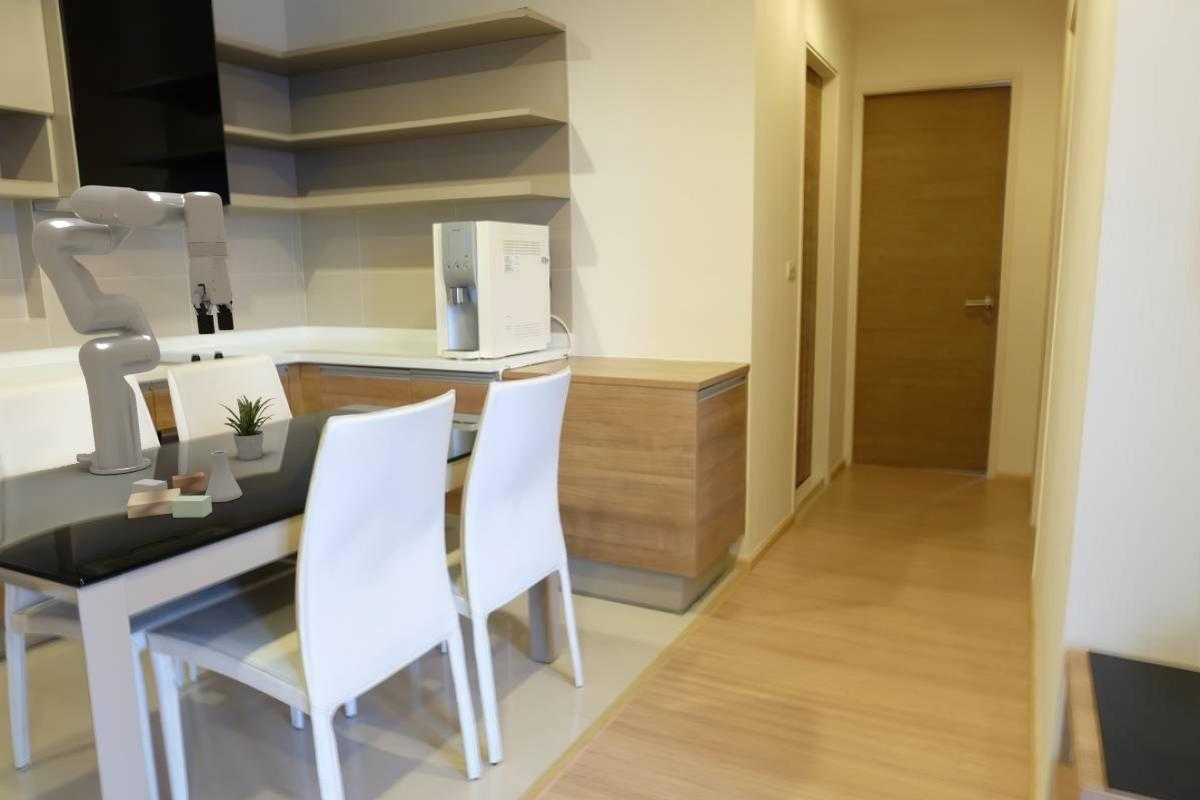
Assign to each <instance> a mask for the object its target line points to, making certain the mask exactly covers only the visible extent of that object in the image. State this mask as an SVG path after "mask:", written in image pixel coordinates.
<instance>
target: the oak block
mask: <svg viewBox="0 0 1200 800" xmlns="http://www.w3.org/2000/svg"><path fill="white" fill-rule="evenodd" d="M179 496H182V494H181V491H180V488H176V489H173V488H169V489H167V490H159V491H150V492H142V493H133V494H132V493H130V495H129V498H128V501H127V504H126V511H127V519H138V518H145V517H152V516H162V515H169V514H173V510H172V501H173V500H174V499H176V498H178V497H179Z"/></svg>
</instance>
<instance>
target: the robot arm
mask: <svg viewBox="0 0 1200 800" xmlns="http://www.w3.org/2000/svg"><path fill="white" fill-rule="evenodd" d="M69 206H70V209H71V211H72V213H74V214H75V216H76V217H77V218H75V217H71V218H70V217H54V218H47V219H44V220H42V221H40V222H38V223H37V224H36V225H35V226H34V228H33V230H32V234H31V247H32V252H33V256H34V257H35V260H36V262H37V263H38V266H39V267H40V269H42V272H44V274H45V275H46V277H47V278H48V280H49V281H50V283H51V285H52V287H53V288H54V290H55V293H56V296H57V297H58V300H59V302H60V304H61V307H62V309H63V312H64V313H65V315H66V318H67V320H68V321H69V324H70V326H71V328H72V329H73V331H75V332H76V333H77V334H80V335H81V336H98V335H110V334H117V335H110V336H104V337H96V338H93V339H90V340H88V341H86V342H85V343H83V344H82V345H81V346H80V348H79V351H78V362H79V367H80V369H81V371H82V374H83V377H84V380H85V385H86V388H87V395H88V402H89V403H88V404H89V409H90V418H91V424H92V425H91V426H92V432H93V434H92V435H93V441H94V451H92V452H90V453H76V461H77V463H78V462H79V464H86V463H90V464H91V465H90V466H89V472H90V473H91V474H95V475H117V474H126V473H133V472H135V471H136V472H137V471H140V470H144V469H146V468H148V467H149V466H151V459H150V458H148V457H145V456H144V457H143V449H142V441H141V433H140V432H141V431H140V424H139V423H140V422H139V412H138V404H137V403H138V402H137V398H136V397H137V396H136V393H135V390H134V388H133V387H132V386H131V385H130V383H129V382H128V381H127V380H126V378H125V377H126V376H130V375H136V374H142V373H147V372H151V371H153V370H155V369H156V368H157V367H158V366H159V365H160V363H161V349H160V347H159V344H158V341H157V339H156V336H155V333H153V329H152V328H151V325H150V323H149V321H148V319H147V317H146V314H145V311H144V310H143V308H142V306H141V305H140V303H139V302H138V301H137V300H136V299H135V298H134V297H132V296H131V295H129V294H127V293H126V294H125V293H117V292H116V293H115V292H114V293H104V292H102V290H101V288H100V287H99V285H98V283H97V281H96V279H95V277H94V275H93V274H92V272H91V271H90V269H88V268H87V267H86V266H85V265H84V264H83V263H81V262H80V261H78V260H77V259H76V258H75V257H74V256H107V255H111V254H113V253H116V251H117V250H119V249H120V248H121V247H122V245H123V243H124V242H126V239H127V238H128V237H129V236H130V235H131V234H132V232H133V230H134V229H135V228H141V229H143V228H144V229H152V230H153V229H156V230H157V229H160V230H161V229H163V230H167V229H168V230H185V233H186V242H187V250H188V251H187V253H188V259H189V268H188V269H189V270H188V272H189V273H188V274H189V276H188V277H189V278H188V279H189V293H190V294H189V295H190V302H191V304H192V305H193V308H194V310H195V316H196V323H197V329H198V334H199V335H214V334H216V329H215V328H216V327H215V322H214V321H215V320H214V319H215V318H214V315H213V314H212V310H213V307H214V306H215V308H216V309H217V311H218V312H216V318H217V327H218V331H234V330H235V326H234V317H233V300H232V299H233V291H232V288H231V281H230V275H229V270H228V265H227V260H226V259H229V256H228V246H227V245H228V243H227V237H226V236H227V235H226V227H225V225H226V224H225V217H224V209H223V201H222V197H221V195H219V194H218V193H216V192H212V191H211V192H210V191H191V192H186V193H176V192H161V191H146V190H145V191H144V190H143V191H141V190H137V189H134V188H132V187H123V186H121V187H120V186H108V185H107V186H106V185H84V186H81V187H79V188H77V189H75V190H74V191H73V192H72V194H71V196H70V199H69Z"/></svg>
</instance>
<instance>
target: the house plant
mask: <svg viewBox="0 0 1200 800" xmlns="http://www.w3.org/2000/svg"><path fill="white" fill-rule="evenodd" d="M242 396H243V397H242ZM239 397H240V398H241V399H240V398H237V399H236V401H237V405H238V412H239V417H238V415H236V413H235V412H233V410H231V408H229V407H228V406H226V405H223V404H221V403H216V404H218V405H220V406H222V407H224V408H225V409H226V410H227V411H229V412H230V413H231V415H232V416H233V417H234V418H235V419H236V420H237V421H236V420H234V419H233V418H231V417H227V416H225V418H226V419H227V420H228V421H229V422H231V423H229V422H225V423H223V425H226V426H229V427H231V428H233V429H234V430H236V431H237V432H235V433H233V434H232V435H233V439H234V443H235V447H236V451H237V454H238V458H239V460H241V461H251V460H256V459H260V458H262V453H263V446H264V445H263V444H264V435H265V434H264V433H265V432H264V431H263V430H259V429H261V426H263V425H264V423H265V422H266V421H267V420H268V419H270V420H272V418H271V417H272V416H274V414H272V415H269V416H267V417H266V416H264V417H263V416H262V414H263V412H264V411H265V410H266V409H267V408H268V407H271V406H275V403H274V404H269V405H266V404H268V402H269V401H272V400H274V399H276V397H273V398H272V397H271V398H269V399H267V400H265V401H264V402H262V401H261V399H262V398H263V397H262V396H260V397H259V398H257V399H256V401H255V403H254V405H253V400H252V401H251V400H250V401H249V400H248V398H247V397H246V396H245V395H244V394H242V395H239ZM243 398H244V399H243ZM241 400H242V401H241ZM261 402H262V403H261ZM260 403H261V404H260ZM264 405H266V406H265V407H264ZM263 407H264V408H263ZM262 408H263V409H262ZM261 409H262V411H261ZM260 411H261V412H260ZM259 412H260V414H259ZM258 414H259V416H258V417H257V415H258ZM276 415H277V414H275V416H276ZM261 416H262V417H261ZM255 420H256V421H255ZM256 428H257V429H256Z"/></svg>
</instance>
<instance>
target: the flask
mask: <svg viewBox="0 0 1200 800" xmlns="http://www.w3.org/2000/svg"><path fill="white" fill-rule="evenodd" d="M209 454H210V457H212V468H211V474H210V476H209V481H208V484H207V486H206V489H207V490H205V495H204V496H211V503H227V502H230V501H234V500H237V499H239V498H240V497H241V496H242V495H243V494H244V493H243V492H242V490H241V487H240V486H239V484H238V482H237V480H236V479H235V476H234V474H233V473H232V471H231V469H230V464H229V462H228V454H229V451H227V450H217V451H212V452H211V453H209Z"/></svg>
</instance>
